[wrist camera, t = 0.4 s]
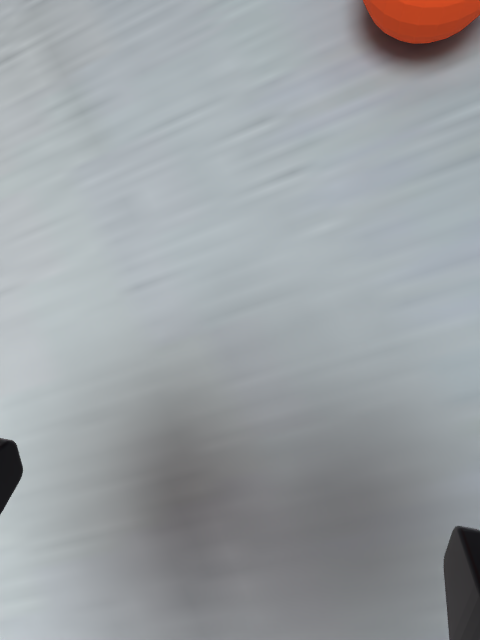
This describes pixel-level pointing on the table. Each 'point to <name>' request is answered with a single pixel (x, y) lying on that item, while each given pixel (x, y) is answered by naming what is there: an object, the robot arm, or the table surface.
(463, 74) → the table surface
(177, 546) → the table surface
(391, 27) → the clementine
